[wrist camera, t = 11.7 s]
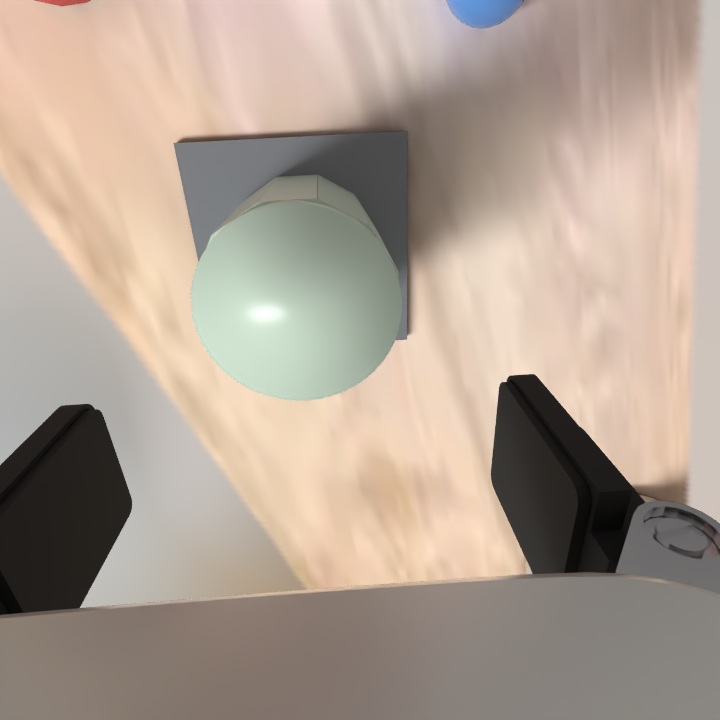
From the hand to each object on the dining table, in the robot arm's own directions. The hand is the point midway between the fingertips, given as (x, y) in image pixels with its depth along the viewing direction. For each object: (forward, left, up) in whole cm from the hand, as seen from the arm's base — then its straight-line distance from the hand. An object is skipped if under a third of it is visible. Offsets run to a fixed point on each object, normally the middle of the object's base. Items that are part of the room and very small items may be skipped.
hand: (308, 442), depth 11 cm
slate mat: (+1, +1, -16) cm, 16 cm away
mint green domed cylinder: (+1, 0, -16) cm, 15 cm away
